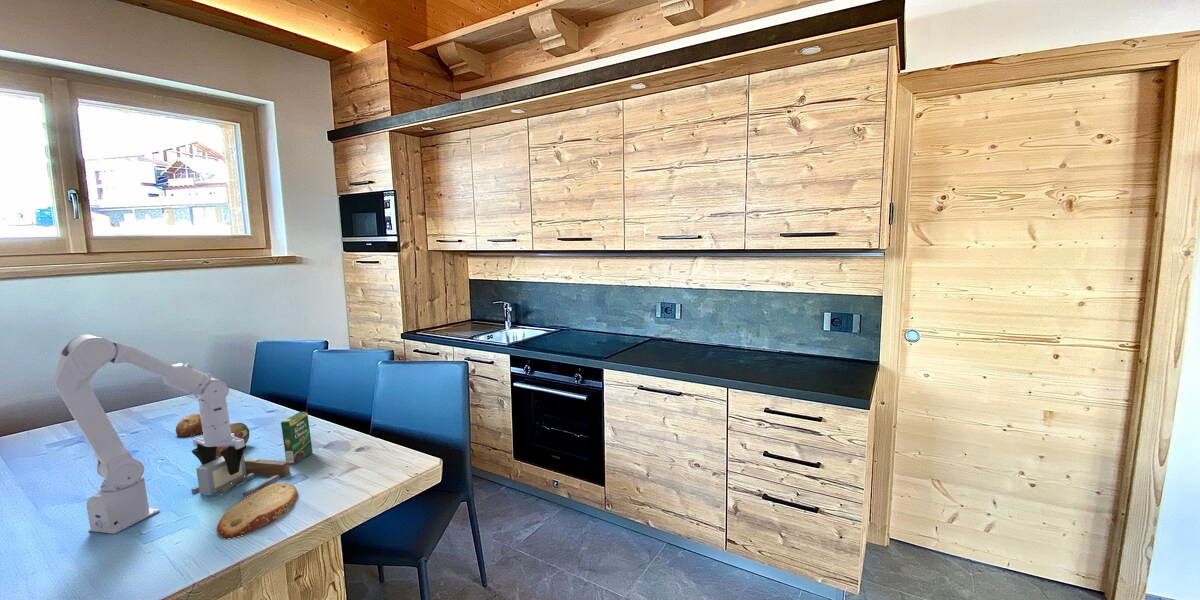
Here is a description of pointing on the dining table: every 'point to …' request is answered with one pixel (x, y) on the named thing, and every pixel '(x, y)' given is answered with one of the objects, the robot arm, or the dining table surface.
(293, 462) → the coffee box
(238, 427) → the tin
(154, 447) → the dining table surface
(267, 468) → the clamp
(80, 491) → the dining table surface
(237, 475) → the grey rectangular block
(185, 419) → the bread roll
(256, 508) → the bread slice
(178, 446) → the dining table surface
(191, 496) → the dining table surface
